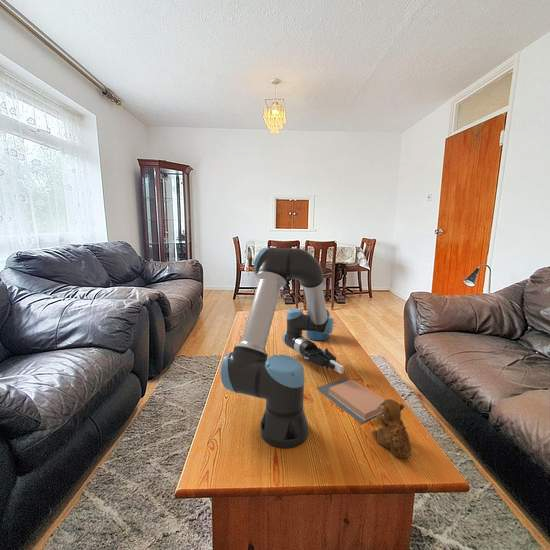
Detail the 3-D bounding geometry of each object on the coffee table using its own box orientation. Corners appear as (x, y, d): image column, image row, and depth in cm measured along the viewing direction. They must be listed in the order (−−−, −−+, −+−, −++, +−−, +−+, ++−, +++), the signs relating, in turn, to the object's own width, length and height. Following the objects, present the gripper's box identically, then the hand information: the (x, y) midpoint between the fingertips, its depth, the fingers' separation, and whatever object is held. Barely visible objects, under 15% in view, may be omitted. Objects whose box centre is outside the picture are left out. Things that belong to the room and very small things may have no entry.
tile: (329, 387, 111) (365, 414, 96) (352, 379, 117) (389, 403, 102) (328, 393, 111) (364, 420, 96) (351, 385, 117) (389, 409, 102)
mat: (315, 388, 115) (315, 387, 115) (345, 378, 123) (345, 377, 123) (360, 424, 95) (360, 423, 95) (393, 409, 103) (393, 408, 103)
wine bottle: (331, 341, 162) (333, 288, 157) (308, 341, 161) (309, 289, 156) (326, 332, 175) (327, 283, 170) (304, 332, 175) (305, 283, 169)
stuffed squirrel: (400, 429, 93) (404, 392, 90) (421, 466, 79) (426, 422, 76) (369, 429, 93) (371, 391, 90) (384, 465, 79) (388, 422, 77)
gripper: (317, 352, 137) (353, 374, 117) (294, 358, 131) (328, 383, 111) (317, 337, 136) (354, 357, 116) (294, 343, 129) (329, 365, 109)
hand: (342, 370), depth 113 cm, fingers closed
